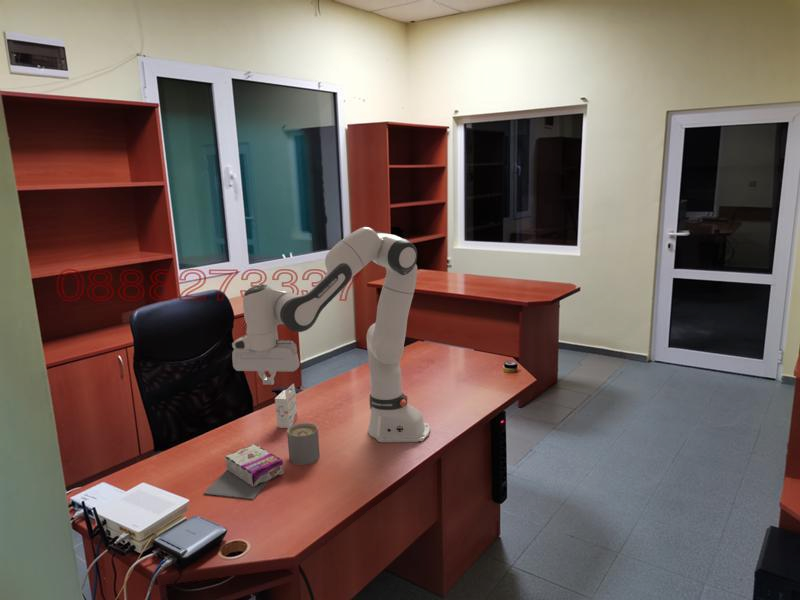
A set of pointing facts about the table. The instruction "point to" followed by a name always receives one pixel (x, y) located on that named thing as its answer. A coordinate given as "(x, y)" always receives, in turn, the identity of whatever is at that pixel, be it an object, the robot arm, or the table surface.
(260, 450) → the candy bar box
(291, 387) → the ink cartridge box
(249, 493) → the mat
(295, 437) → the coffee mug
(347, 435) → the table surface
